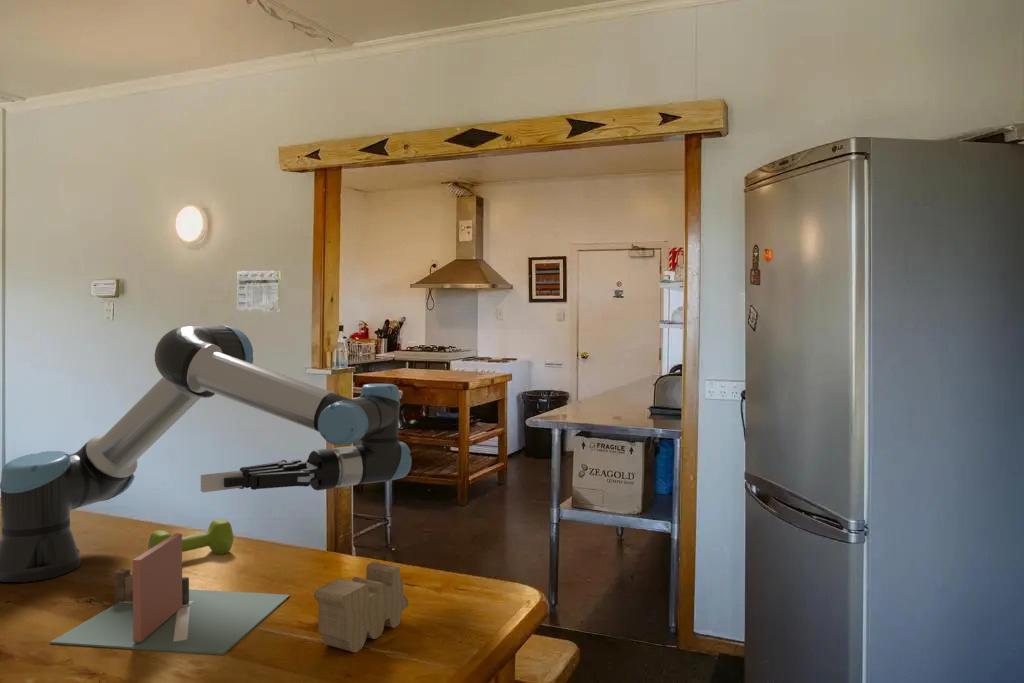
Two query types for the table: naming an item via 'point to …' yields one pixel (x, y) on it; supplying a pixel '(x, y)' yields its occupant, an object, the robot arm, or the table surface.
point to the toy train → (360, 606)
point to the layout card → (181, 624)
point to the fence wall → (125, 587)
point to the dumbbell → (201, 538)
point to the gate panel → (156, 586)
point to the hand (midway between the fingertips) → (202, 483)
